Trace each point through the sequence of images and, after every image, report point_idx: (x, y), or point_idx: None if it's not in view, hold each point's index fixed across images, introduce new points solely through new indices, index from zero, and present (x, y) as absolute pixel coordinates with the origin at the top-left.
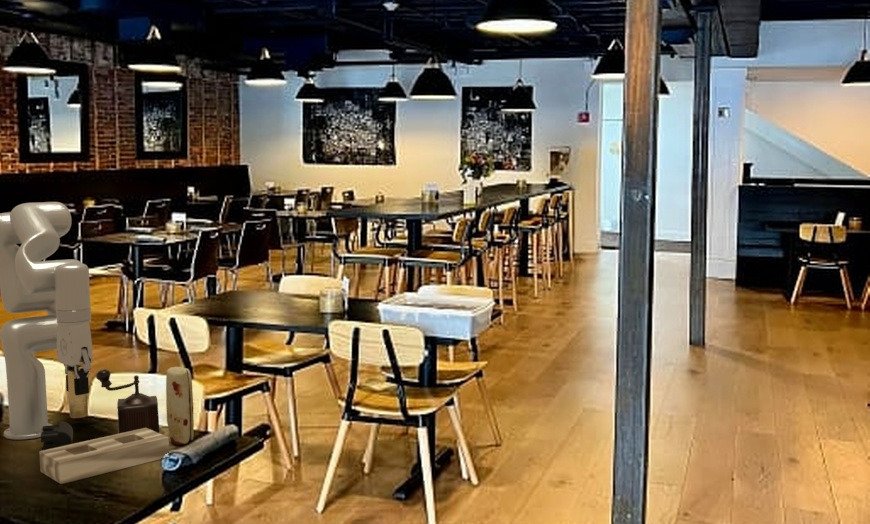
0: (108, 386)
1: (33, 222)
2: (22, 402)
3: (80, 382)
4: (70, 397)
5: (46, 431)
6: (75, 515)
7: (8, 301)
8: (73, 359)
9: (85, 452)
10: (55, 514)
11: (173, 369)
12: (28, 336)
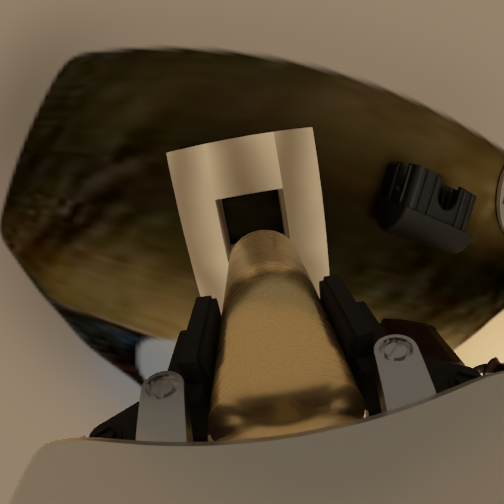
0: (482, 371)
1: None
2: None
3: (170, 369)
4: (252, 267)
5: (435, 186)
6: (19, 160)
7: None
8: (14, 493)
9: (220, 230)
10: (35, 130)
11: None
12: None
